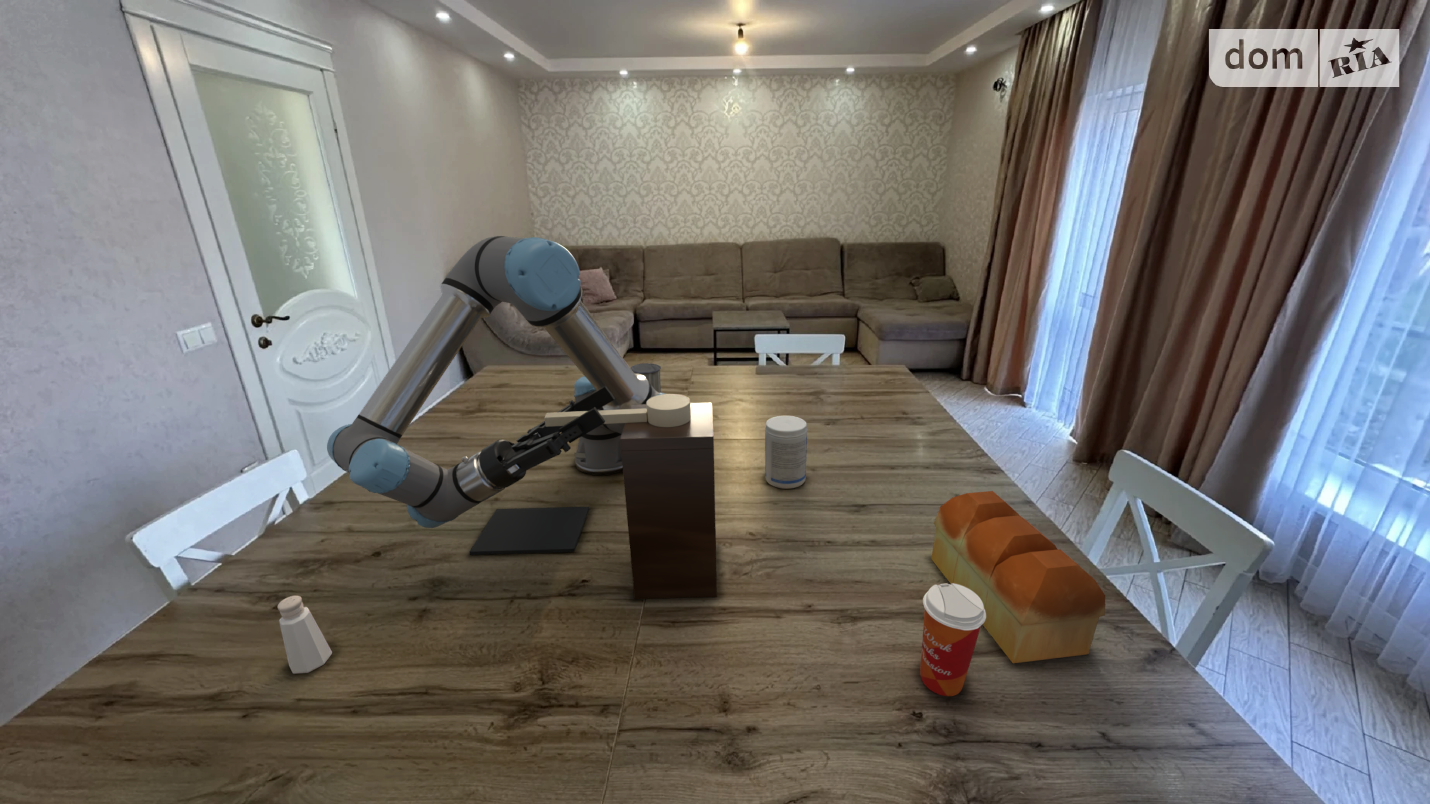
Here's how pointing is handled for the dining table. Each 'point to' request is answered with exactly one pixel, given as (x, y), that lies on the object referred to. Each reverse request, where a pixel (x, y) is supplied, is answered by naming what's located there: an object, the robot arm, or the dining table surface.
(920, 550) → the dining table surface
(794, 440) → the supplement tub
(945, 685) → the paper cup
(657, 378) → the milk frother
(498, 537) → the mat
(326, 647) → the pepper shaker
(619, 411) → the scoop
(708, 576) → the tall dark wooden box
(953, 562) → the bread
